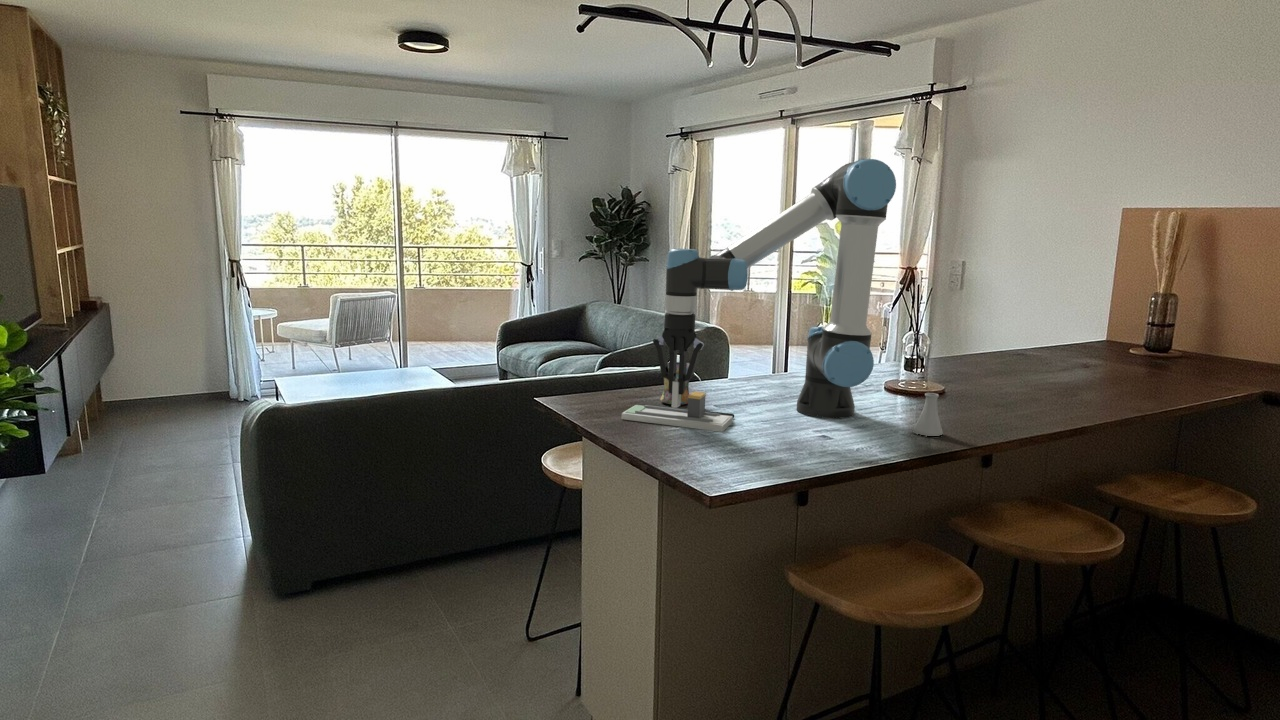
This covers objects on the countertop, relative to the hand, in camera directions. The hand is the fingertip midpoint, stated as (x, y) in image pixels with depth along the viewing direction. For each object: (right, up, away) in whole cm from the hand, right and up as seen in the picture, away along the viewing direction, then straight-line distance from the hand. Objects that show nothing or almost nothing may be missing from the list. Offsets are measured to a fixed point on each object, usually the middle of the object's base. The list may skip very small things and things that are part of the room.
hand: (676, 406), depth 192 cm
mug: (0, 0, +21) cm, 21 cm away
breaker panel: (0, -4, +1) cm, 4 cm away
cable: (+4, -2, +7) cm, 9 cm away
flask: (+61, -7, -5) cm, 62 cm away
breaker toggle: (+5, -2, -1) cm, 6 cm away
